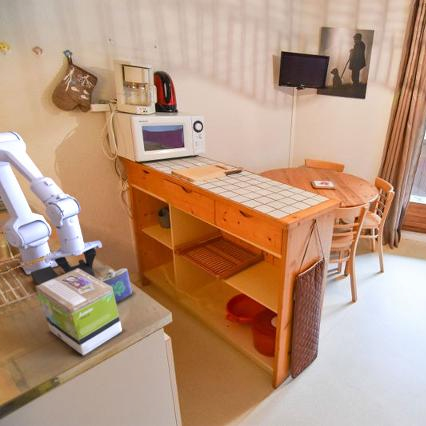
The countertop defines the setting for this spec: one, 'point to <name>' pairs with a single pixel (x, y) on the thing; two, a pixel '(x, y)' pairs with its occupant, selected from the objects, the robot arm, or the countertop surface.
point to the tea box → (80, 310)
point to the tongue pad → (43, 275)
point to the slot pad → (82, 268)
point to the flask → (118, 283)
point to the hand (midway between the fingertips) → (79, 273)
